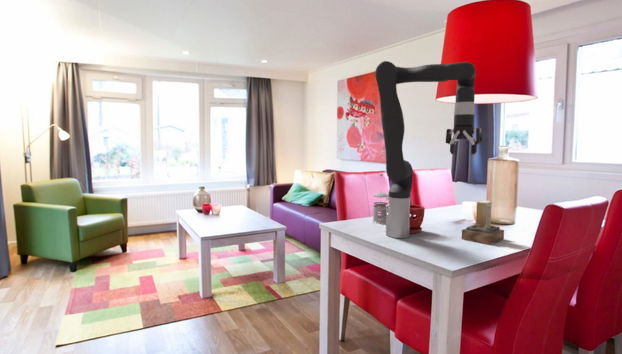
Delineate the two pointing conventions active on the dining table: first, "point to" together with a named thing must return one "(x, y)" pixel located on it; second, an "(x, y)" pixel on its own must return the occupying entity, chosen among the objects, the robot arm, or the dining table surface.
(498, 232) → the walnut stand
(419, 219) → the plant pot
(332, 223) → the dining table surface
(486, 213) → the skincare box
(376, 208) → the french press
